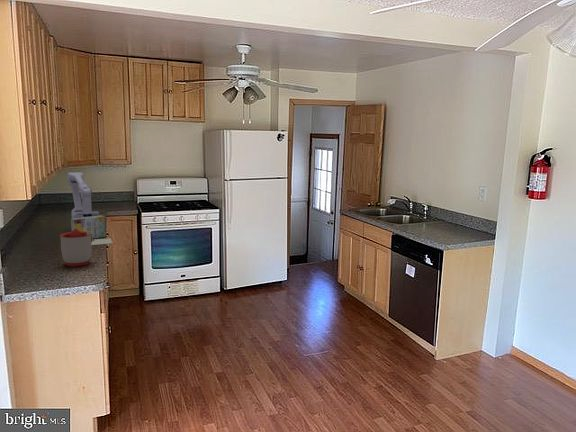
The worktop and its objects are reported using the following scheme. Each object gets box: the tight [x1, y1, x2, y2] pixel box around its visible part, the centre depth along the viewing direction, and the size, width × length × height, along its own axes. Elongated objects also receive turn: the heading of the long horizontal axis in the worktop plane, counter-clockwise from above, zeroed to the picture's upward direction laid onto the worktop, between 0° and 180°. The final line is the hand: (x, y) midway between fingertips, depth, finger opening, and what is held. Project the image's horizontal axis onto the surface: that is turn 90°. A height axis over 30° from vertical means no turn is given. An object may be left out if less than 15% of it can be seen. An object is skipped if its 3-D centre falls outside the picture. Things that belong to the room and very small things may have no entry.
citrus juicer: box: [59, 229, 94, 268], centre depth 246 cm, size 16×17×20 cm
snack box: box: [70, 215, 107, 239], centre depth 307 cm, size 21×6×15 cm, turn 141°
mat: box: [91, 238, 114, 246], centre depth 298 cm, size 16×26×1 cm, turn 118°
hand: (87, 225), depth 313 cm, fingers closed
